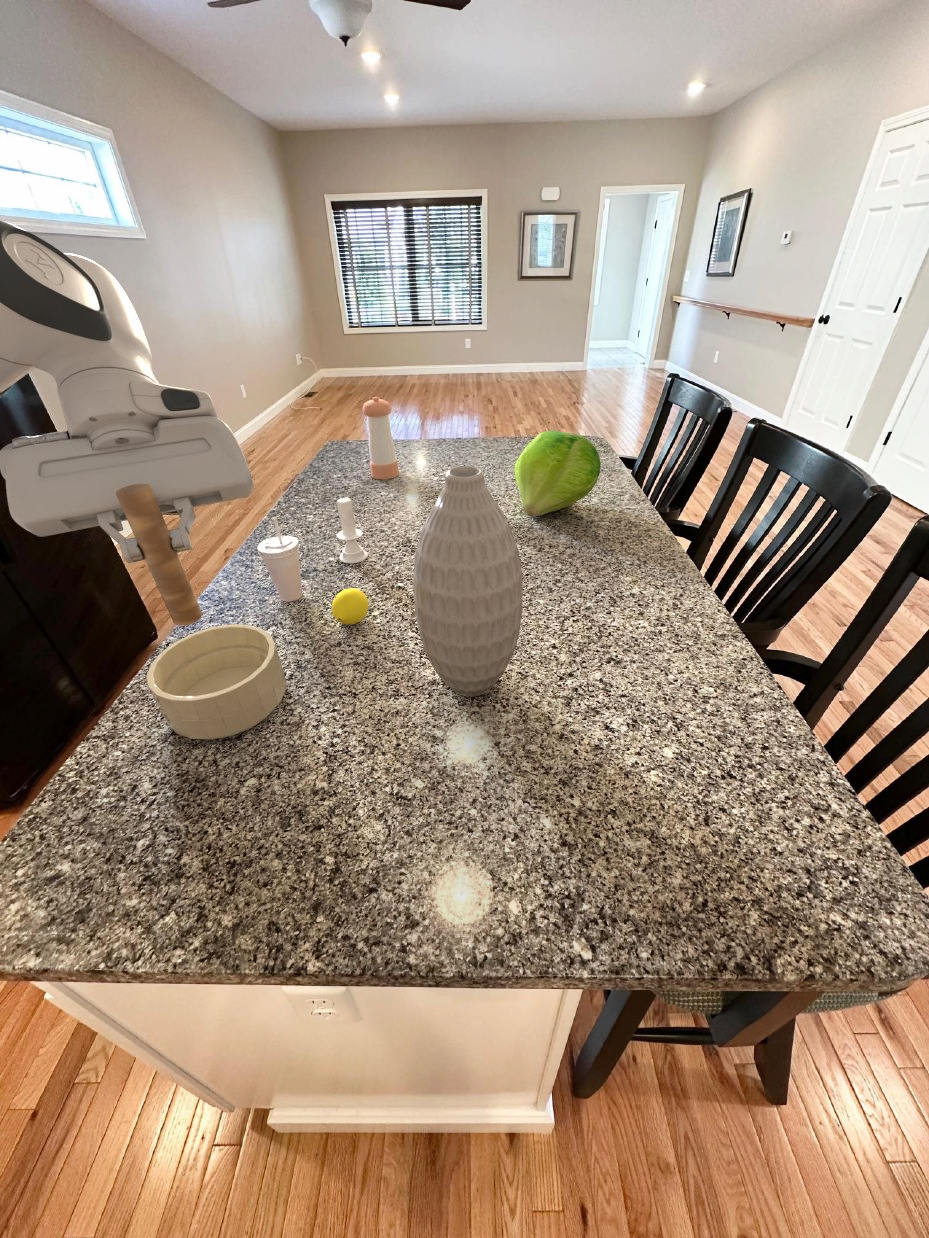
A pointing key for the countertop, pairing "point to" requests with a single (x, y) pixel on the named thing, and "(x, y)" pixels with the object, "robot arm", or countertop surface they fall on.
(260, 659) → the bowl
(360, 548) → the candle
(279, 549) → the smoothie
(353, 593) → the lemon
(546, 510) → the lettuce
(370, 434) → the pepper shaker
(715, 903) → the countertop surface
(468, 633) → the vase
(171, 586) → the stick
